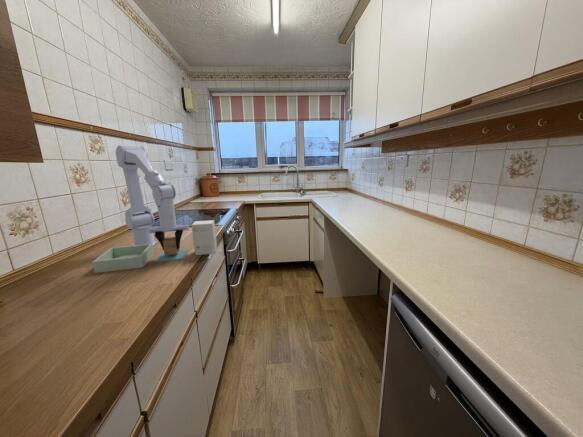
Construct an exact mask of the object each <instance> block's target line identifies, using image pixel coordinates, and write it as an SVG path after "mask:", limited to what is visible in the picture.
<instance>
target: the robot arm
mask: <svg viewBox="0 0 583 437" xmlns="http://www.w3.org/2000/svg"><path fill="white" fill-rule="evenodd" d="M115 157H116V162H117V165H118V167H120V168H121V169H122V171H123V175H124V179H125V183H126V184H125V185H126V188H127V195H128V198H129V203H130V207H129V208H128V209H127V210H126V211H125V212H124V215H125V219H124V221H125V225H126V226H127V228H129V230H131V231H132V232H131V233H132V237H133V238H132V239H133V245H145V244H153V247H154V246H155V244H157V242H158V243H159V244H160V246H161V249H162V251H164V247H163V240H164V238H165V233H168V232H169V233H170V232H174V237H176V243H177V249H179V250H180V248H181V239H182V236H183V232H184V231H189V230H190V226H189V224H177V220H176V219H177V218H176V210H175V204H174V199H175V197H176V194H177V193H176V189H175V187H174V185H173V183H172V184H171V183H169V182H167V181H166V180H165V179H164V177H163V176H162V174H161V173H160V172H159V170H154V168H153V167H152V164H151V162H150V161H149V159H148V158H149V155H148V151H147V149H146V148H145V147H144V146H143V145H142V146H141V145H140V146H134V145H133V146H131V145H129V146H128V145H120V144H119V145H117V147H116V148H115ZM138 168H139V169H140V171H142V173H143V174H144V181H146V183H147V184H148V186H149V188H150V189H151V195H152V198H153V199H154V204H155V206H157V215H158V220H159V226H154V227H153V224H154V223H155V216H154V214H153V212H152V209H151V208H150V207H148V206H146V205H145V203H144V198H143V193H142V188H141V183H140V178H139V173H138ZM155 238H156V240H155Z"/></svg>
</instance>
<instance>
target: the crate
mask: <svg viewBox="0 0 583 437" xmlns="http://www.w3.org/2000/svg"><path fill="white" fill-rule="evenodd" d="M154 254H155V252H154V246H153V244H145V245H135V244H133V245H127V246H125V245H124V246H115V247H110V248H109V249H107V250H106V251H105V252H104V253H102V254H101V255H99V256H98V257H97V258H95V259H94V260H93V261H92V262H91V263H92V266H93V273H95V274H98V273H105V272H114V271H122V270H123V271H124V270H131V269H139V268H140V269H141V268H143V267H144V266H145V265H146V264H147V263H148V262H149V260H150V259H151V257H152V256H153V255H154Z"/></svg>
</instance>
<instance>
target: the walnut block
mask: <svg viewBox="0 0 583 437" xmlns="http://www.w3.org/2000/svg"><path fill="white" fill-rule="evenodd" d="M163 247H164V250H163V252H164V254H165V255H173V254H177V253H178V251H179V250H180V248H179V249H177V243H176V237H175V236H166V237H165V238H164V240H163Z"/></svg>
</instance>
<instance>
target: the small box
mask: <svg viewBox="0 0 583 437" xmlns="http://www.w3.org/2000/svg"><path fill="white" fill-rule="evenodd" d="M191 230H192V232H191V233H192V239H193V248H194V255H195V256H200V255H201V256H202V255H214V254H216V251H217V249H218V244H217V234H216V224H215V220H214V219H212V220H211V219H210V220H195V221H194V222H193V223H192V224H191Z"/></svg>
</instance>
